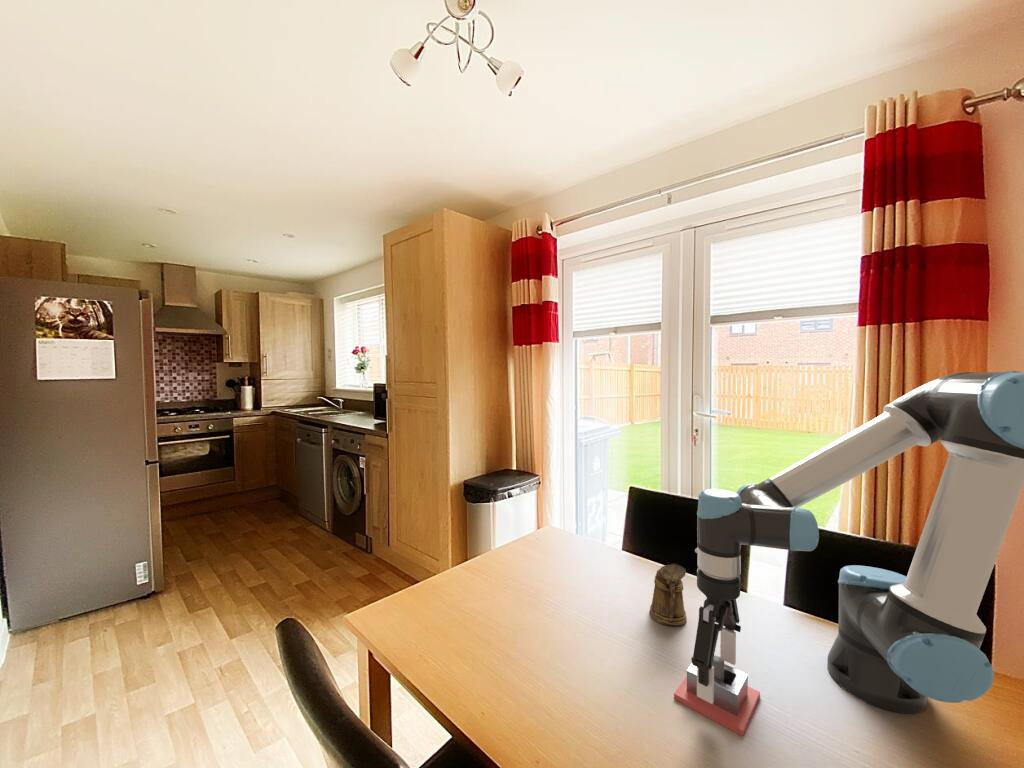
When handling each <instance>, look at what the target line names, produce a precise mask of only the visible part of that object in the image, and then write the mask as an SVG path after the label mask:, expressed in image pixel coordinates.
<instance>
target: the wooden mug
mask: <svg viewBox="0 0 1024 768" xmlns="http://www.w3.org/2000/svg"><path fill="white" fill-rule="evenodd" d="M686 572H687V570H686V568H685V567H683V566H682V565H680V564H678V563H676V562H675V563H669V564H666V565H663V566H661V567H660V568H659V569H658V570H657V571H656V573H655V576H654V583H653V584H654V589H653V593H652V601H651V604H650V608H649V614H650V615H649V616H650V617H651V618H652V619H653V620H654V621H656V622H658V623H659V624H661V625H665V626H670V627H681V626H684V625H685V624H686V622H687V620H688V618H687V612H686V609H685V604H684V596H683V590H684V583H683V581H682V579H683V578H684V577H685V576H686Z"/></svg>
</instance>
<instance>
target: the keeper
mask: <svg viewBox="0 0 1024 768" xmlns="http://www.w3.org/2000/svg"><path fill="white" fill-rule="evenodd" d="M724 664H725V661H724V660H723V659H722V658H721V657H720V656H718V655H714V658H713V663H712V666H714V678H715V679H717V680H719V681H721V682H723V683H724ZM673 696H674V697H673V699H674V700H676V701H677V702H679V703H680V704H681V703H682V704H683V705H685V706H687V707H689V708H690V709H692V710H694V711H696V712H697V713H700V714H701V715H703V716H705V717H707V718H709V720H713V721H714V722H716V723H718V724H720V725H721V726H723V727H725V728H727V729H728V730H730V731H732V732H734V733H735V734H737V735H740V736H741V737H744V735H745V733H746V732H745V731H746V730H747V727H748V725H749V722H750V721H751V718H752V716H753V714H754V711H755V709H756V706H757V704H758V702H759V700H760V698H761V691H759V690H756V689H754V688H752V687H750V686H748V695H747V697H746V699H745V701H744V703H743V705H742V708H741V710H740V712H739V714H738V716H735V715H733V714H731V713H729V712H727V711H725V710H723V709H722V708H720V707H718V706H716V705H714V704H711V703H709V702H707V701H705V700H703V699H701V698H699V697H697V695H695V694H693V693H691V692H689V691H687V675H686V676H685V678H684V679H683V680H682V681H681V683H680V685H679V686H678V688H677V689H676V690H675V692H674V694H673Z"/></svg>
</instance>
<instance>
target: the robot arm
mask: <svg viewBox="0 0 1024 768" xmlns="http://www.w3.org/2000/svg"><path fill="white" fill-rule="evenodd" d="M936 442H940V444H941V445H942V446H943V447H944V449H945V450H946V452H948V457H947V459H946V463H945V466H944V469H943V472H942V475H941V477H940V481H939V483H938V486H937V489H936V492H935V494H934V498H933V499H932V503H931V506H930V508H929V511H928V515H927V517H926V520H925V523H924V526H923V529H922V532H921V534H920V537H919V541H918V544H917V546H916V549H915V552H914V555H913V557H912V561H911V564H910V566H909V569H908V572H907V575H903V574H900V573H899V572H896V571H893V570H888V569H884V568H879V567H873V566H870V565H869V566H866V565H858V564H857V565H856V564H853V565H845V566H843V567H842V568H840V571H839V577H838V580H837V583H838V621H837V622H838V632H837V636H836V638H835V640H834V642H833V644H832V646H831V648H830V650H829V652H828V655H827V659H826V660H827V661H826V662H827V666H826V667H827V672H828V673H829V674H830V676H831V678H832V679H833V680H834V681H835V682H836V683H837V684H838V685H839V686H840V687H841V688H843V689H844V690H846V691H847V692H848V693H850V694H851V695H853V696H855V697H857V698H859V700H862V701H864V702H866V703H868V704H870V705H873V706H875V707H878V708H882V709H884V710H888V711H892V712H896V713H901V714H916V713H917V714H918V713H921V712H923V711H925V710H926V709H927V706H928V698H929V699H931V700H934V701H938V702H942V703H951V704H959V703H963V702H964V701H967V702H972V701H975V700H978V699H980V698H981V697H983V696H984V695H985V694H987V693H988V691H989V690H990V689H991V688H992V686H993V684H994V683H993V682H994V679H995V672H994V668H993V665H992V664H991V663H990V661H989V659H988V657H987V655H986V654H985V653H984V652H983V651H982V650H981V646H982V643H983V642H984V638H985V635H986V633H987V627H986V626H985V625H984V623H983V622H982V620H981V618H979V616H978V614H977V613H978V610H979V607H980V605H981V602H982V600H983V596H984V594H985V591H986V588H987V586H988V584H989V582H990V581H989V580H990V578H991V574H992V572H993V569H994V567H995V564H996V561H997V559H998V556H999V553H1000V550H1001V548H1002V545H1003V542H1004V540H1005V537H1006V534H1007V531H1008V529H1009V526H1010V523H1011V521H1012V518H1013V516H1014V515H1013V514H1014V513H1015V511H1016V510H1015V509H1016V506H1017V505H1018V502H1019V499H1020V496H1021V493H1022V491H1023V488H1024V372H1023V371H1017V370H1010V371H1009V370H1008V371H1001V372H1000V371H997V372H995V371H992V372H990V371H989V372H974V371H971V372H969V371H968V372H967V371H965V372H955V373H950V374H947V375H943V376H939V377H937V378H935V379H933V380H930V381H928V382H926V383H924V384H922V385H921V386H918V387H917V388H916V387H915V388H914V389H913V390H911V391H909V392H907V393H905V394H904V395H902V396H900V397H898V398H897V399H895V400H892V402H890V403H888V404H886V405H884V406H883V409H882V414H880V415H878V416H877V417H874V418H873V419H872V420H871V419H870V421H868V422H865V423H863V424H862V425H860V426H858V427H856V428H855V429H853V430H852V431H850V432H848V433H847V434H844V435H843V436H842V437H839V438H838V439H835V440H834V441H833V442H831V443H829V444H827V445H826V446H823V447H822V448H820V449H818V450H817V451H815V452H813V453H811V454H810V455H808V456H806V457H805V458H803V459H801V460H799V461H797V462H795V463H793V464H792V465H790V466H788V467H787V468H785V469H783V470H781V471H780V472H778V473H776V474H774V475H773V476H770V477H769V478H767V479H764V480H763V481H761V482H760V483H746V484H744V485H742V486H740V487H739V488H738V489H737V491H736V492H734V491H731V490H727V489H726V490H725V489H722V488H707V489H704V490H702V491H701V492H699V494H698V498H697V499H698V500H697V501H698V502H697V511H696V515H697V519H696V520H697V521H696V522H697V524H696V525H697V527H696V531H697V533H696V534H697V535H696V537H697V541H696V543H697V545H696V546H697V547H696V548H695V549H694V552H695V553H696V554H697V569H696V587H697V588H698V590H699V591H700V592H701V593H702V594H703V595H705V597H706V599H705V600H704V602H703V606H702V605H700V606H699V608H698V622H697V630H696V634H695V641H694V642H695V643H694V648H693V655H692V656H691V659H690V660H691V664H692V665H694V666H696V667H697V697H699V698H701V699H703V700H705V701H707V702H709V703H711V704H713V702H714V666H712V663H713V658H714V656H715V652H716V647H717V643H718V637H719V633H720V649H719V650H720V653H719V655H720V656H719V657H721V658H722V659H723V660H724V662H726V663H728V664H730V665H733V666H735V665H736V663H737V662H736V660H737V657H736V656H737V632H738V633H740V632H741V630H742V629H741V628H742V627H741V625H739V623H740V621H741V620H740V616H739V615H740V614H739V610H738V604H737V599H738V598H739V597H740V595H741V576H740V575H741V571H742V569H741V568H742V567H741V565H742V562H741V559H742V556H741V554H742V553H741V549H742V548H741V547H742V545H745V546H751V547H753V546H755V547H762V548H769V549H770V548H771V549H778V550H785V551H786V550H787V551H791V552H794V551H795V552H812V551H814V550H815V549H816V548H817V547H818V544H819V541H820V540H819V539H820V533H819V525H818V521H817V519H816V517H815V515H814V514H813V512H812V511H810V510H809V509H806V508H801V507H802V506H804V505H806V504H808V503H809V502H811V501H813V500H815V499H817V498H819V497H821V496H822V495H824V494H826V493H829V492H830V491H832V490H835V489H836V488H837V487H840V486H841V485H843V484H845V483H847V482H849V481H851V480H854V479H855V478H857V477H859V476H861V475H862V474H864V473H866V472H868V471H871V470H872V469H874V468H875V467H878V466H880V465H881V464H883V463H885V462H887V461H889V460H890V459H892V458H895V457H897V456H899V455H900V454H903V453H904V452H907V451H908V450H910V449H911V448H913V447H916V446H920V447H928V446H930V445H932V444H934V443H936Z"/></svg>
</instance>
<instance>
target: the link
mask: <svg viewBox="0 0 1024 768" xmlns="http://www.w3.org/2000/svg"><path fill="white" fill-rule="evenodd" d="M686 676H687V691H689V692H691V693H693V694H695V695H697V667H696V666H694V665H692V663H691V664H690V665H689V666H688V668H687V669H686ZM748 678H749V674H748V673H745V672H744V671H742V670H739V669H737V668H734V667H733V666H730V665H728V664H725V663H724V683H723V682H721V681H719V680H717V679H715V678H714V702H713V704H714V705H716V706H718V707H720V708H722V709H723V710H725V711H727V712H729V713H731V714H733V715H735V716H738V714H739V712H740V710H741V708H742V705H743V703H744V701H745V699H746V697H747V695H748V687H749V685H748V684H749V682H748V681H749V679H748Z"/></svg>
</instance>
